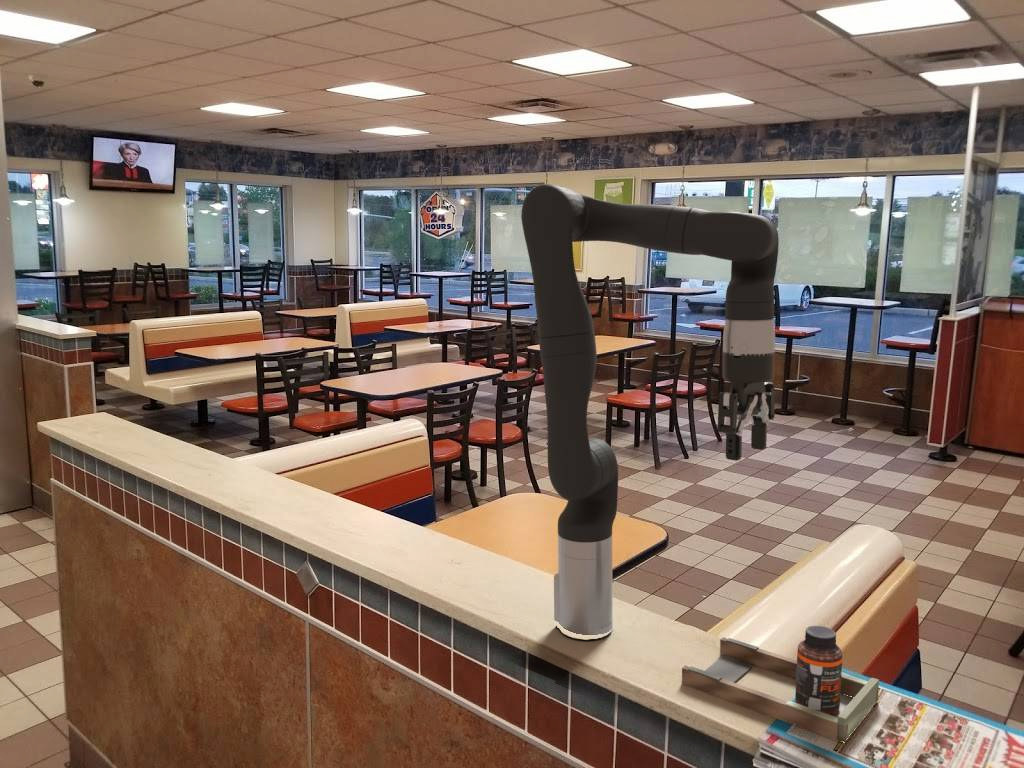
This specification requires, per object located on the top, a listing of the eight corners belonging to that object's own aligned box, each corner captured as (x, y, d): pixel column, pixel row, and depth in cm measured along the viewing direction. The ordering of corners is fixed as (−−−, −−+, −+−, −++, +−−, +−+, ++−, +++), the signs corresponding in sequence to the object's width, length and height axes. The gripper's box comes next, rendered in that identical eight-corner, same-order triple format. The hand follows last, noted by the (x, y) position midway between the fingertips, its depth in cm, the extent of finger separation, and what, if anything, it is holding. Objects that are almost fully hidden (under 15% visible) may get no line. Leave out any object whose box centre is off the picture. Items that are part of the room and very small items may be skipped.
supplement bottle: (823, 723, 111) (826, 645, 109) (786, 704, 115) (788, 629, 114) (848, 708, 114) (852, 632, 112) (811, 691, 119) (814, 618, 117)
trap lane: (681, 683, 122) (682, 661, 121) (723, 651, 131) (723, 631, 131) (844, 743, 106) (845, 718, 105) (877, 702, 115) (878, 679, 115)
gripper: (746, 343, 130) (744, 442, 132) (702, 352, 120) (701, 459, 122) (792, 346, 125) (789, 449, 127) (750, 355, 115) (748, 467, 117)
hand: (746, 454), depth 125 cm, fingers open, 8 cm apart
